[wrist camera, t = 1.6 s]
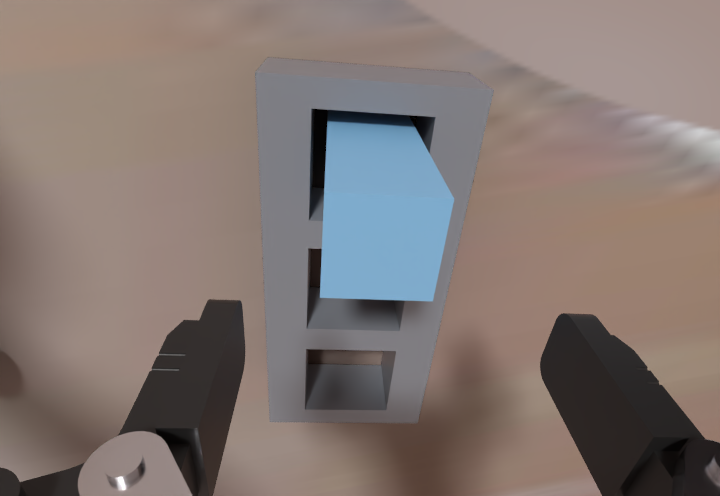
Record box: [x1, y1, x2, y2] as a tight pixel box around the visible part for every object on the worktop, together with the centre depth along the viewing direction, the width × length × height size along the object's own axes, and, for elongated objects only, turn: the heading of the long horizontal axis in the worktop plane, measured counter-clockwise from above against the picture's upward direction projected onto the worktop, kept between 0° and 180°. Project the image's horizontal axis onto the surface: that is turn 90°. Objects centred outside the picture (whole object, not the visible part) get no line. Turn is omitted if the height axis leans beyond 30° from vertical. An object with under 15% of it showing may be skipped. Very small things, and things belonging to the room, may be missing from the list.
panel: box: [255, 57, 494, 423], centre depth 26 cm, size 22×10×4 cm, turn 175°
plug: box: [320, 110, 454, 301], centre depth 19 cm, size 4×4×11 cm
